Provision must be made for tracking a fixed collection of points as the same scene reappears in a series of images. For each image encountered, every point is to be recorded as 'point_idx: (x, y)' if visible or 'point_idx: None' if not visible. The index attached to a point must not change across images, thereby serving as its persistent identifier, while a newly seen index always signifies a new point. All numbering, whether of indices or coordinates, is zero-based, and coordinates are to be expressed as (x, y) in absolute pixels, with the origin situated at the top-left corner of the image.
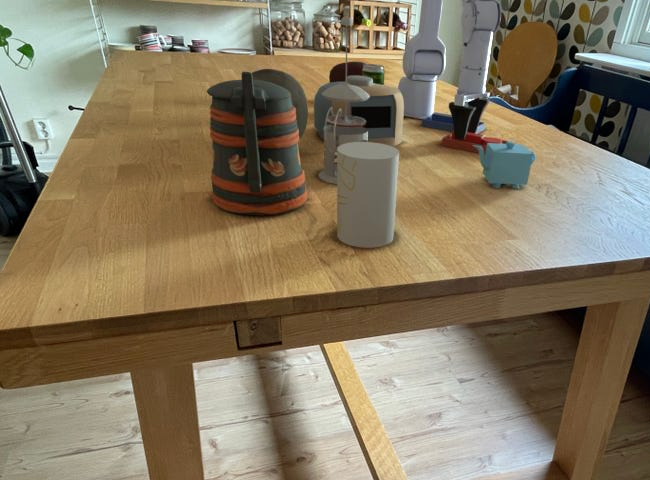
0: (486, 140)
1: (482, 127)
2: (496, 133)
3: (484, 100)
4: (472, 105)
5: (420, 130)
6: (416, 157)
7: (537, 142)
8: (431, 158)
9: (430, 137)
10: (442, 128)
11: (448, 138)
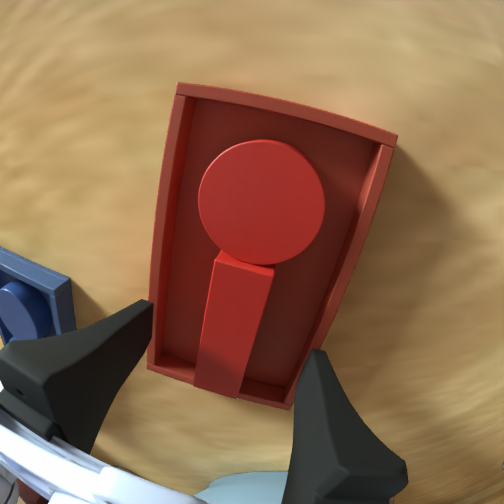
0: (296, 240)
1: (4, 257)
2: (4, 199)
3: (49, 400)
4: (86, 416)
5: (137, 423)
6: (450, 417)
7: (38, 27)
8: (458, 389)
9: (196, 412)
10: None
11: (242, 386)
